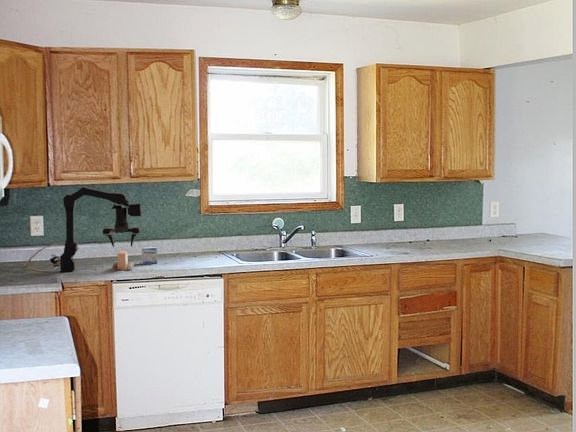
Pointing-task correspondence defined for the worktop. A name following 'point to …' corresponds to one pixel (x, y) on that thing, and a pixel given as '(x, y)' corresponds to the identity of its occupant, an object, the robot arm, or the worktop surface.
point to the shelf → (115, 268)
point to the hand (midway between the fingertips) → (122, 246)
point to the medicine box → (149, 255)
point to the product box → (122, 260)
